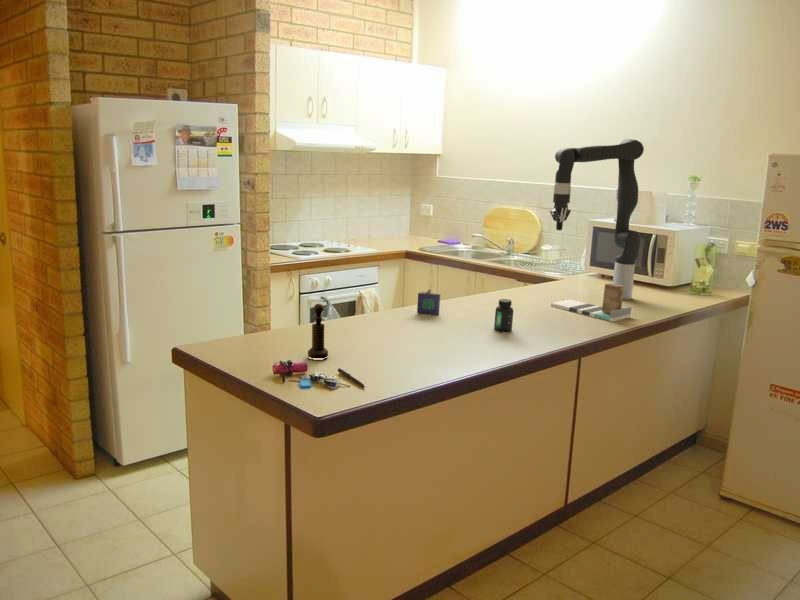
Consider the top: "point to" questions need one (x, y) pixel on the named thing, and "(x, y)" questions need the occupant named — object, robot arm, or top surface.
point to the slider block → (612, 297)
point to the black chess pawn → (318, 335)
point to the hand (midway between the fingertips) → (559, 230)
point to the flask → (428, 303)
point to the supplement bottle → (503, 316)
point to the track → (593, 310)
